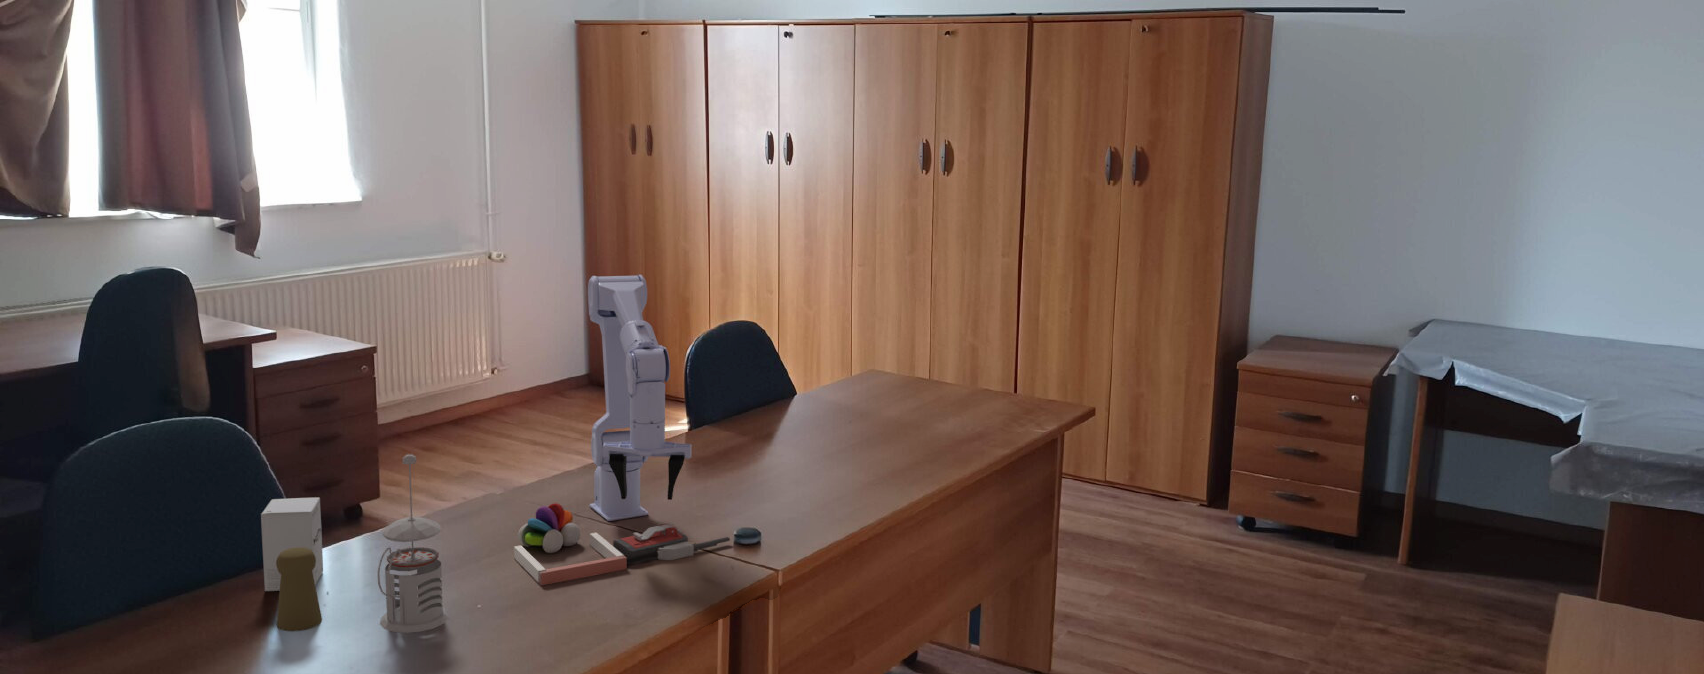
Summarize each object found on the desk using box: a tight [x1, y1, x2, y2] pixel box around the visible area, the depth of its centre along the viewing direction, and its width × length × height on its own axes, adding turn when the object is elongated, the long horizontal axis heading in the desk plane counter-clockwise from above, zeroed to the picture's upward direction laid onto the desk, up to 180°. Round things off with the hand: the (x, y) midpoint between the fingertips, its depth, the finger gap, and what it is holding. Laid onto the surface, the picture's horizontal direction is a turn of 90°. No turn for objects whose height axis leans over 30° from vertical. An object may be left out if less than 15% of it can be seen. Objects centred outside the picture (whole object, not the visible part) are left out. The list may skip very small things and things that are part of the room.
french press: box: [377, 454, 451, 634], centre depth 179 cm, size 10×12×25 cm
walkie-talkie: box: [612, 523, 731, 565], centre depth 212 cm, size 9×4×20 cm
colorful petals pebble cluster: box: [517, 502, 581, 554], centre depth 212 cm, size 8×10×7 cm
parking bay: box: [513, 532, 628, 586], centre depth 205 cm, size 13×14×2 cm
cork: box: [276, 547, 323, 632], centre depth 179 cm, size 6×6×11 cm
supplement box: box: [260, 497, 324, 592], centre depth 193 cm, size 7×7×13 cm
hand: (647, 497), depth 209 cm, fingers open, 7 cm apart
